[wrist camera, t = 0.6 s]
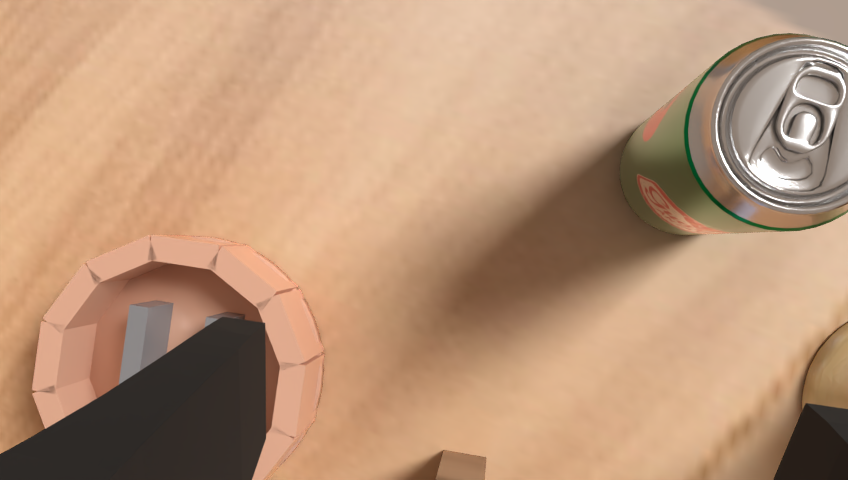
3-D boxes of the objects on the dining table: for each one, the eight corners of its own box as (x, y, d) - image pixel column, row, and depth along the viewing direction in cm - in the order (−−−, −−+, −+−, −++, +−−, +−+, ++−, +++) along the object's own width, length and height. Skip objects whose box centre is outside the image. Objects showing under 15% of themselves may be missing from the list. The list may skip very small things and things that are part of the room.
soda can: (599, 210, 30) (665, 189, 18) (642, 93, 29) (738, -8, 17) (719, 252, 29) (871, 260, 17) (764, 134, 29) (949, 58, 17)
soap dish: (304, 515, 31) (282, 544, 28) (60, 469, 32) (15, 492, 29) (340, 256, 31) (323, 258, 28) (94, 219, 32) (52, 217, 29)
